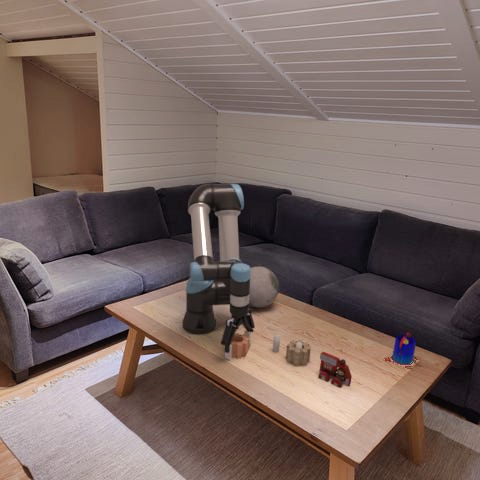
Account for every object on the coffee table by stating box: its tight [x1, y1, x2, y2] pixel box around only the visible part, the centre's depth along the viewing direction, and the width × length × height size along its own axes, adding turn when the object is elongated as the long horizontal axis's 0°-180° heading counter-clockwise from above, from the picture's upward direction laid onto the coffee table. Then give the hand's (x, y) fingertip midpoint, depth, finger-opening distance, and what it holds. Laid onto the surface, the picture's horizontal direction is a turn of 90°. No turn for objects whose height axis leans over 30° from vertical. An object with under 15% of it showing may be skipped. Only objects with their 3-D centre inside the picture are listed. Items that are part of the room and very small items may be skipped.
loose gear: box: [231, 332, 251, 360], centre depth 177 cm, size 9×9×6 cm
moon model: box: [249, 266, 280, 309], centre depth 216 cm, size 20×20×20 cm
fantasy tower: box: [383, 332, 419, 369], centre depth 175 cm, size 12×12×12 cm
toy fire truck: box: [317, 351, 352, 389], centre depth 160 cm, size 7×12×10 cm, turn 51°
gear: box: [285, 339, 312, 367], centre depth 171 cm, size 9×9×6 cm
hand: (237, 351), depth 178 cm, fingers open, 12 cm apart
